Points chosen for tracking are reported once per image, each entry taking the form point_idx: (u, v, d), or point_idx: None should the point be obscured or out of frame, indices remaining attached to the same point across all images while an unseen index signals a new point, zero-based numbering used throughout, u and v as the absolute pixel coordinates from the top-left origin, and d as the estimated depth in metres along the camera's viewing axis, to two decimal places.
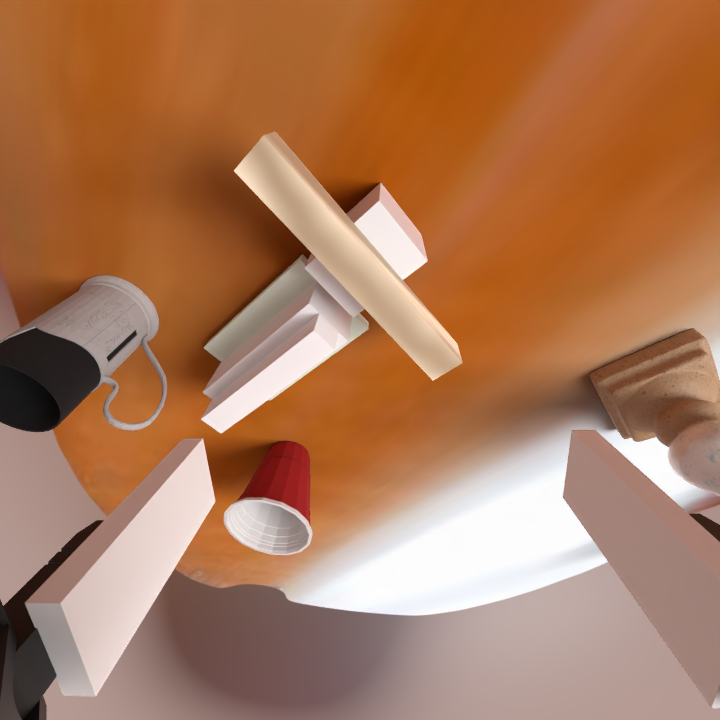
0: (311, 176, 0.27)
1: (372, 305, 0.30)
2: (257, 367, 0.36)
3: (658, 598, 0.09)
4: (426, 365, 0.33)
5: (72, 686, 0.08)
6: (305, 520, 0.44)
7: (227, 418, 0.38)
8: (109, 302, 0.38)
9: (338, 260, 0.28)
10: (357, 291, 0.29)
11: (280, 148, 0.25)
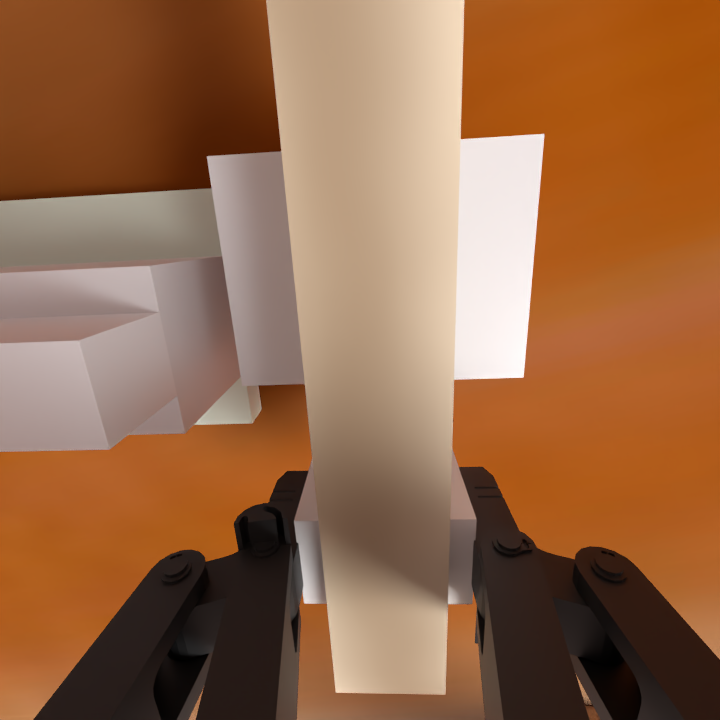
0: None
1: (337, 394, 0.08)
2: None
3: None
4: (350, 648, 0.10)
5: (313, 595, 0.10)
6: None
7: None
8: None
9: (346, 157, 0.06)
10: (325, 316, 0.07)
11: None
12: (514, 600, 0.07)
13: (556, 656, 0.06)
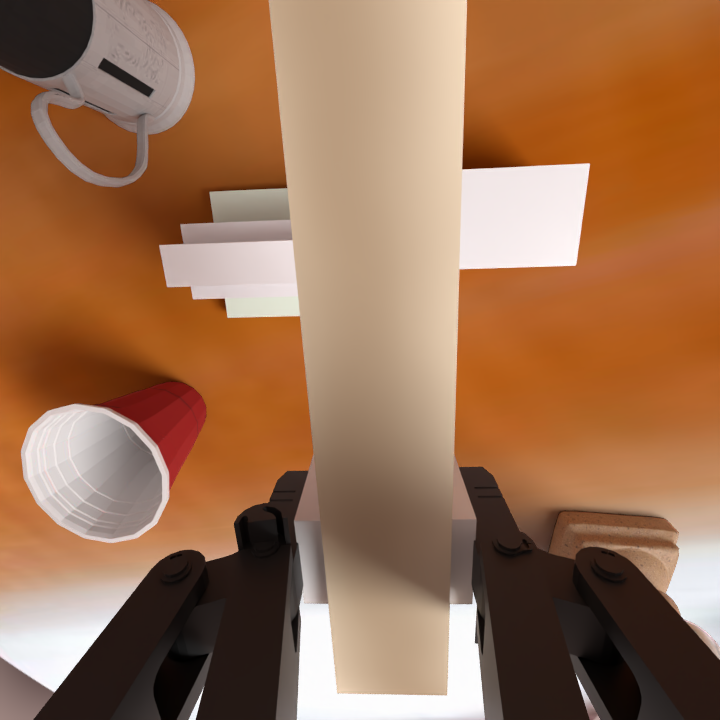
0: None
1: (339, 395, 0.08)
2: None
3: None
4: (352, 649, 0.10)
5: (313, 595, 0.10)
6: (168, 494, 0.27)
7: (199, 271, 0.23)
8: (155, 27, 0.25)
9: (349, 159, 0.07)
10: (328, 317, 0.07)
11: None
12: (514, 600, 0.07)
13: (556, 656, 0.06)
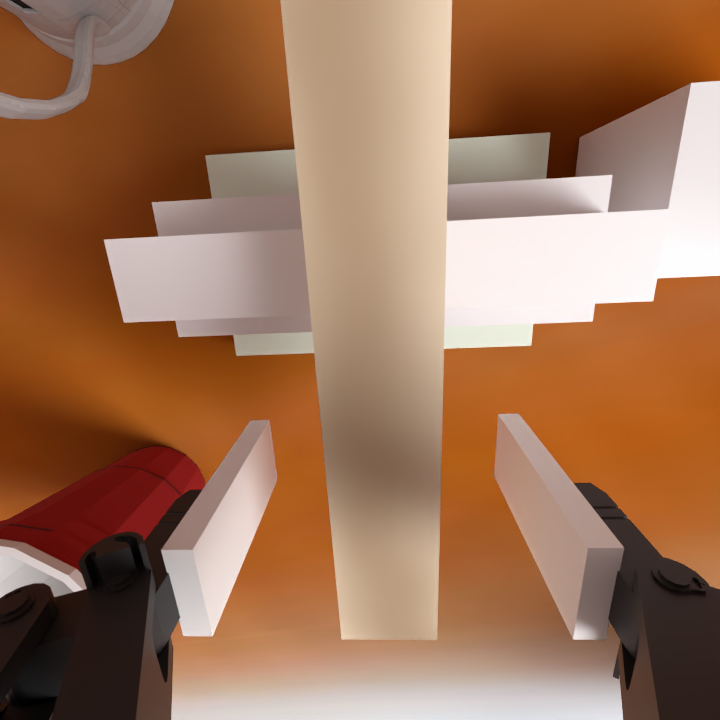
0: None
1: (343, 378, 0.09)
2: None
3: (545, 553, 0.10)
4: (355, 599, 0.12)
5: (191, 627, 0.10)
6: None
7: (185, 292, 0.12)
8: None
9: (353, 178, 0.08)
10: (334, 311, 0.09)
11: None
12: (680, 641, 0.06)
13: None
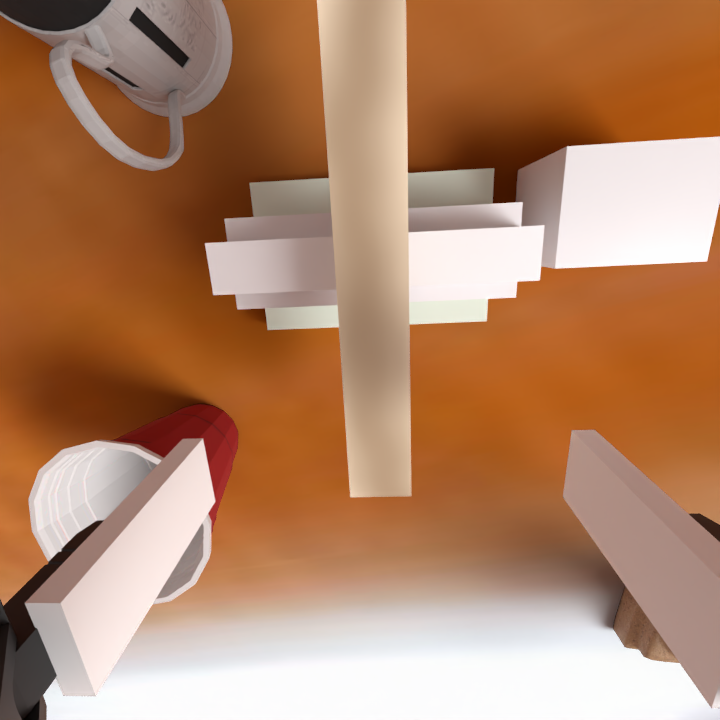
0: None
1: (353, 319, 0.16)
2: None
3: (658, 598, 0.09)
4: (359, 467, 0.18)
5: (71, 687, 0.08)
6: (210, 547, 0.22)
7: (253, 275, 0.19)
8: None
9: (359, 209, 0.15)
10: (348, 280, 0.16)
11: None
12: None
13: None
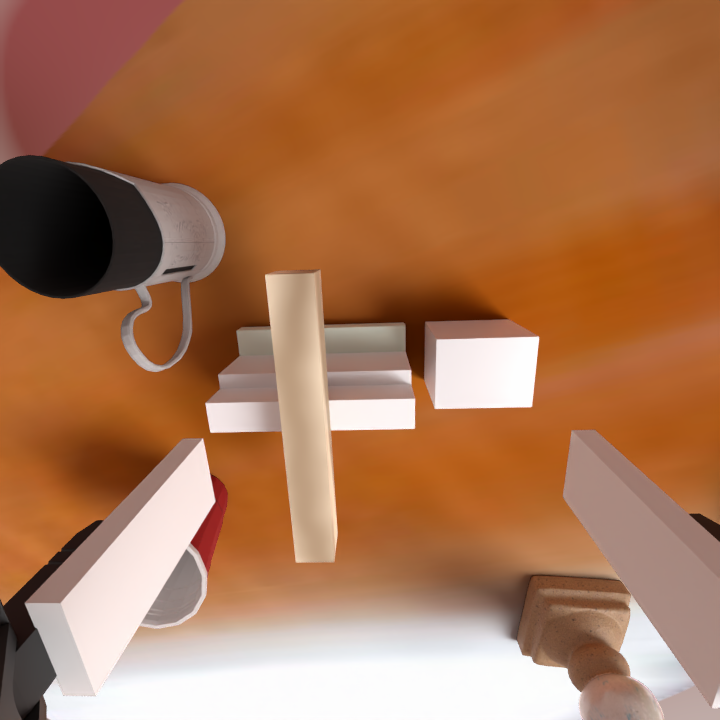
0: (322, 322, 0.27)
1: (294, 462, 0.27)
2: None
3: (658, 598, 0.09)
4: (300, 544, 0.29)
5: (71, 687, 0.08)
6: (206, 590, 0.33)
7: (236, 422, 0.30)
8: (198, 222, 0.32)
9: (295, 406, 0.26)
10: (290, 442, 0.27)
11: (317, 288, 0.25)
12: None
13: None
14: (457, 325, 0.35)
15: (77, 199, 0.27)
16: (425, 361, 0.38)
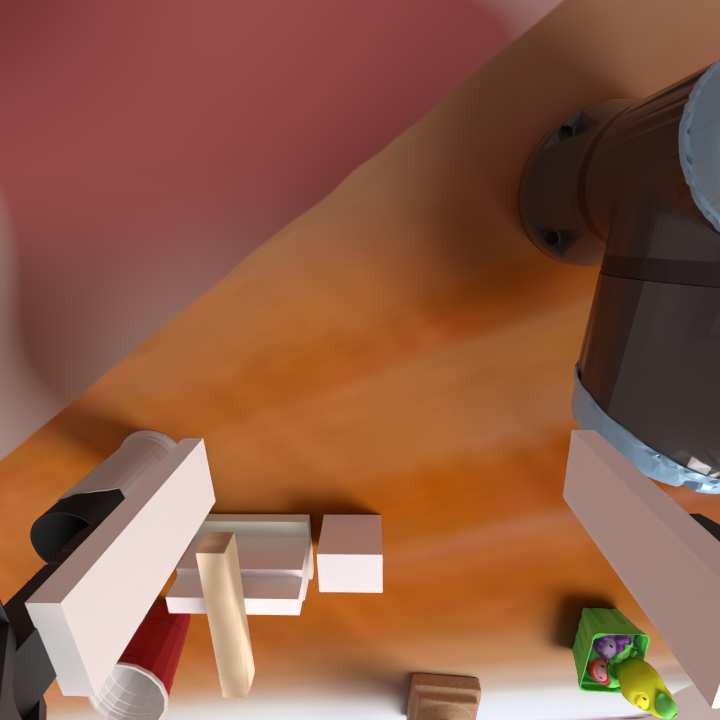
0: (236, 561, 0.43)
1: (218, 644, 0.44)
2: None
3: (658, 598, 0.09)
4: (225, 687, 0.46)
5: (71, 686, 0.08)
6: (167, 705, 0.50)
7: (185, 608, 0.46)
8: None
9: (217, 616, 0.43)
10: (215, 634, 0.43)
11: (229, 553, 0.41)
12: None
13: None
14: (341, 525, 0.51)
15: None
16: None
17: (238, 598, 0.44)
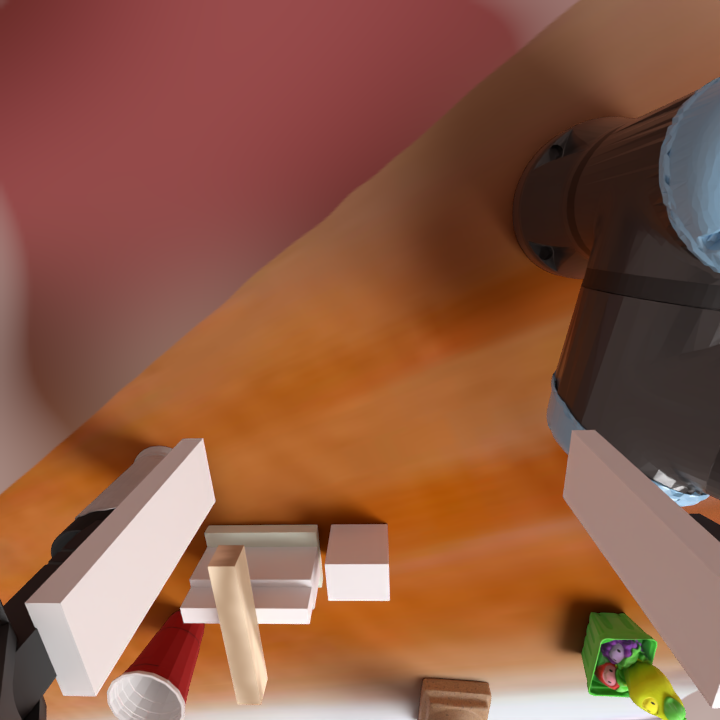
0: (246, 573, 0.45)
1: (231, 653, 0.45)
2: None
3: (658, 598, 0.09)
4: (239, 695, 0.48)
5: (71, 686, 0.08)
6: (184, 712, 0.51)
7: (199, 618, 0.48)
8: None
9: (230, 626, 0.44)
10: (228, 643, 0.45)
11: (239, 566, 0.43)
12: None
13: None
14: (348, 535, 0.53)
15: None
16: None
17: (249, 608, 0.45)
